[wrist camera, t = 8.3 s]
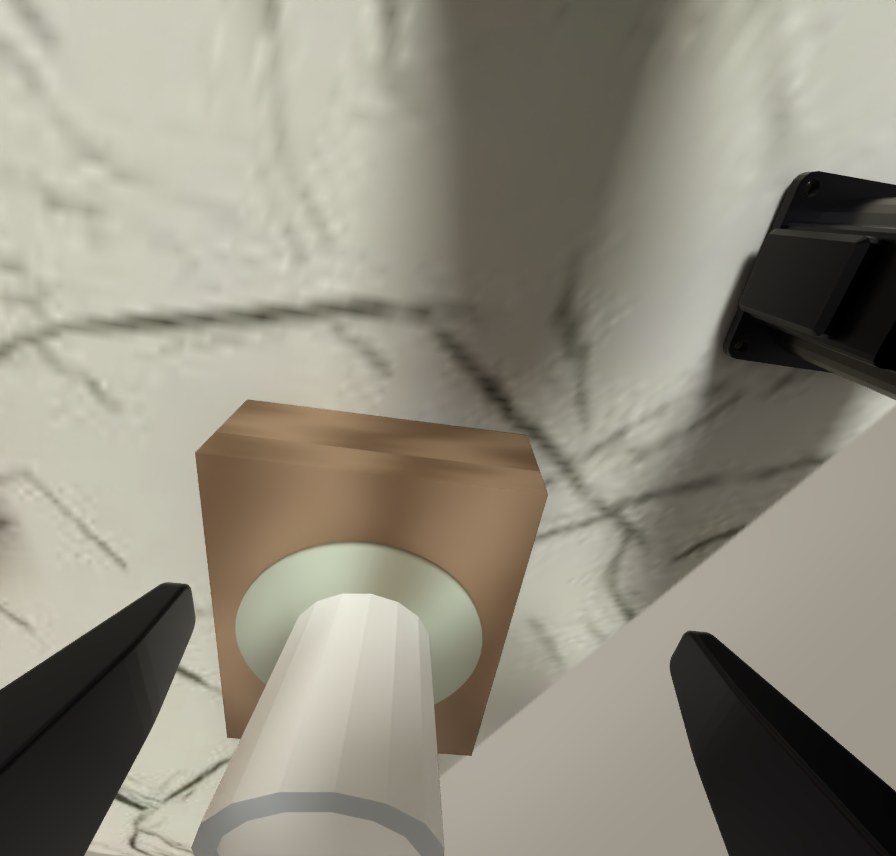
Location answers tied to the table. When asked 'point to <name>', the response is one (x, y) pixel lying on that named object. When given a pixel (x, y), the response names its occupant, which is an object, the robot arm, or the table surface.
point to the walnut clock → (366, 541)
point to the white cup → (337, 744)
